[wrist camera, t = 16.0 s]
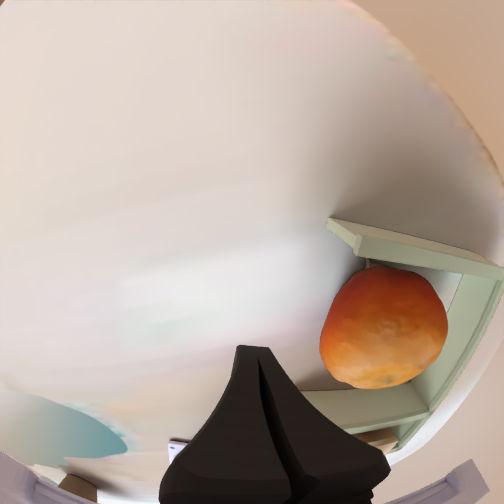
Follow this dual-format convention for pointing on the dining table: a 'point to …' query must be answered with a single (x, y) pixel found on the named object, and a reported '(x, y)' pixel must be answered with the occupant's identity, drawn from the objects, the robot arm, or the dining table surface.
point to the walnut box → (379, 438)
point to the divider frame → (453, 351)
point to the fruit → (383, 328)
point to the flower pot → (79, 487)
